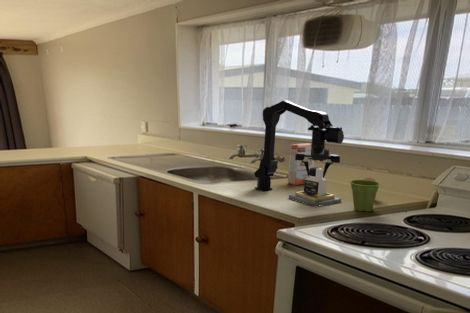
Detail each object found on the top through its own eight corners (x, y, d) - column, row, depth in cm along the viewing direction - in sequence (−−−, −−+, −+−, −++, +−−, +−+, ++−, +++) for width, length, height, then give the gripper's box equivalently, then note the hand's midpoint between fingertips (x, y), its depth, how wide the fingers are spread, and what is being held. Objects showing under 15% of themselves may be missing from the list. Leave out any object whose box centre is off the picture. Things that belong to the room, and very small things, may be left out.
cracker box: (296, 185, 199) (298, 145, 196) (287, 183, 204) (289, 143, 201) (313, 182, 208) (316, 143, 205) (305, 180, 213) (307, 142, 210)
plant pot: (353, 203, 167) (355, 178, 165) (381, 209, 160) (383, 182, 159) (343, 209, 157) (345, 182, 156) (373, 215, 151) (375, 187, 149)
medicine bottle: (303, 194, 170) (305, 167, 169) (312, 192, 176) (313, 166, 174) (317, 197, 166) (319, 170, 164) (326, 195, 171) (328, 168, 169)
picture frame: (288, 198, 173) (289, 191, 173) (314, 194, 182) (314, 187, 182) (315, 207, 160) (315, 199, 160) (341, 202, 169) (341, 195, 169)
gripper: (296, 142, 161) (293, 179, 163) (342, 144, 158) (339, 182, 160) (296, 139, 172) (294, 174, 174) (340, 141, 169) (337, 177, 171)
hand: (315, 176), depth 170 cm, fingers closed on medicine bottle, 6 cm apart
